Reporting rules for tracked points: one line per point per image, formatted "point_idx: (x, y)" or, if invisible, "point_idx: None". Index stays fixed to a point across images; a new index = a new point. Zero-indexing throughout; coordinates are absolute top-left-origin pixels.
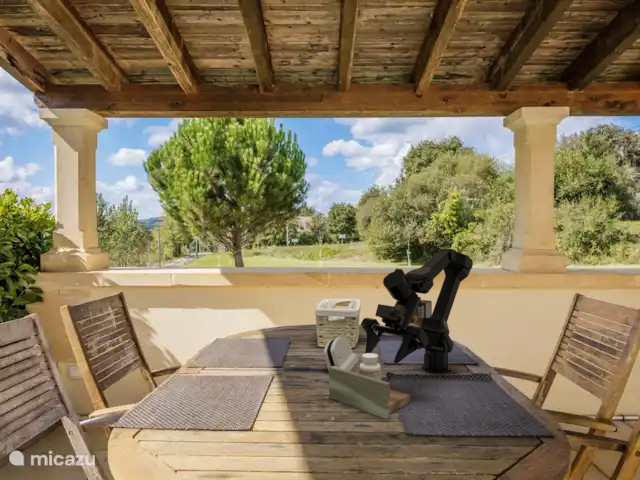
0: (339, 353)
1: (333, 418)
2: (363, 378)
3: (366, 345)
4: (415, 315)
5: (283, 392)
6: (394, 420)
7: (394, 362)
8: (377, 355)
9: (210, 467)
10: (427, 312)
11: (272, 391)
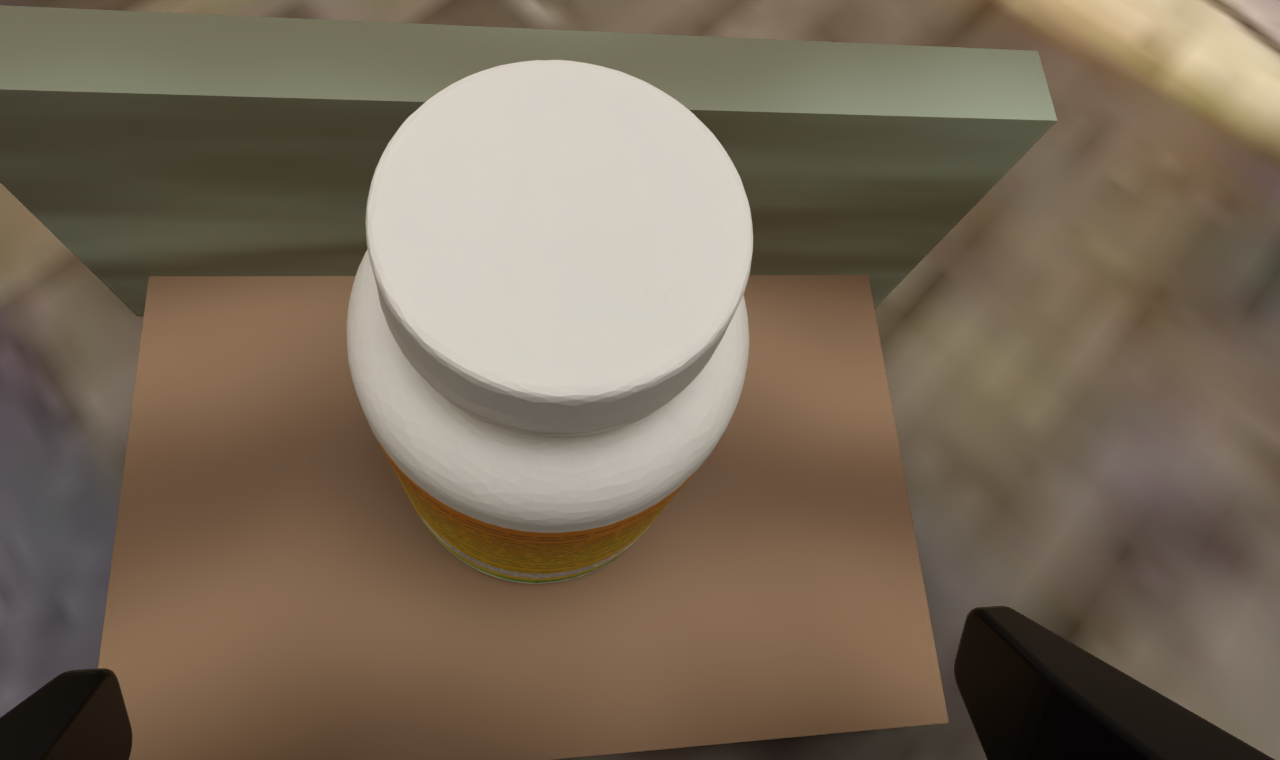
0: None
1: (523, 5)
2: (388, 27)
3: (1217, 735)
4: None
5: (1180, 97)
6: (58, 286)
7: (111, 686)
8: (412, 312)
9: None
10: None
11: (1240, 59)
